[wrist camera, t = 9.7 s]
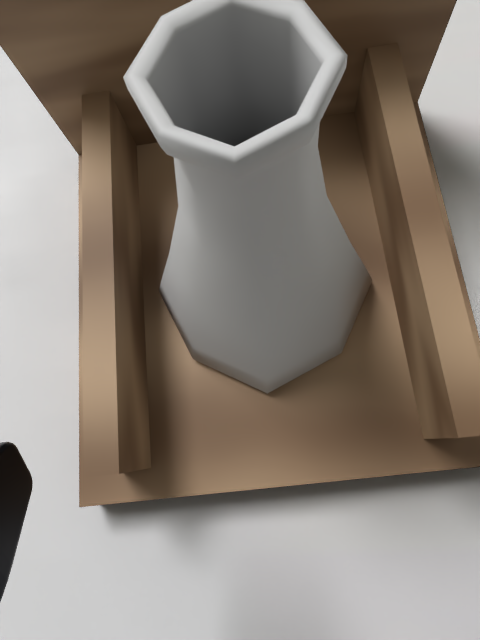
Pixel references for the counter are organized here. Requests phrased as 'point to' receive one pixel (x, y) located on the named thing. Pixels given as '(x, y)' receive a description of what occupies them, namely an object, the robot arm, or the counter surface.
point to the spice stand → (154, 245)
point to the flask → (250, 186)
